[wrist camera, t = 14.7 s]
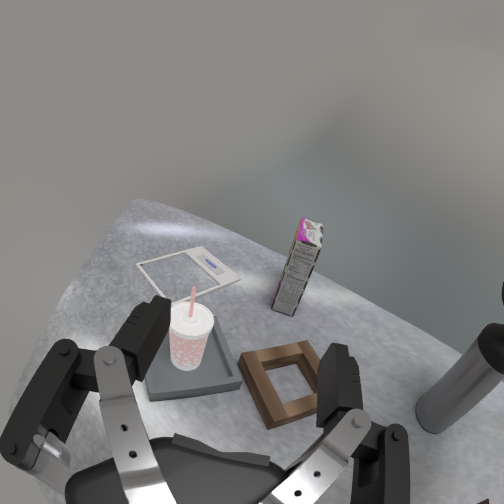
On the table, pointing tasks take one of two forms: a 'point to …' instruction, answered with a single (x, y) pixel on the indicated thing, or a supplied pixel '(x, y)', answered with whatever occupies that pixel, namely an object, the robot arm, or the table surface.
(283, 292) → the candy bar box
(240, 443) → the table surface
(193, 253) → the photo frame
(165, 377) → the tray
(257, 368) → the socket block
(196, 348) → the beverage cup
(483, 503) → the coffee box
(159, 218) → the table surface
